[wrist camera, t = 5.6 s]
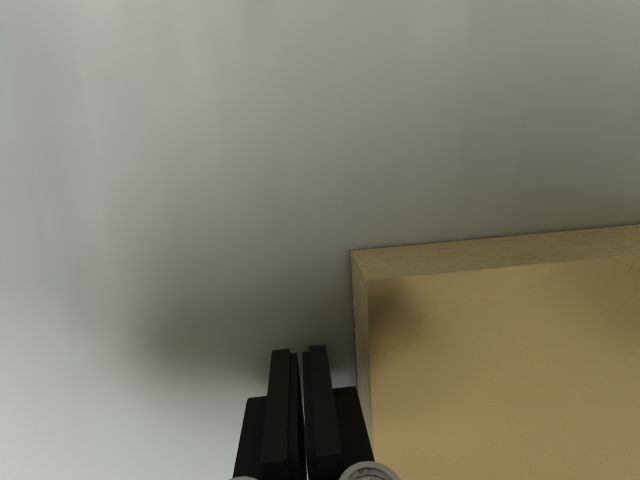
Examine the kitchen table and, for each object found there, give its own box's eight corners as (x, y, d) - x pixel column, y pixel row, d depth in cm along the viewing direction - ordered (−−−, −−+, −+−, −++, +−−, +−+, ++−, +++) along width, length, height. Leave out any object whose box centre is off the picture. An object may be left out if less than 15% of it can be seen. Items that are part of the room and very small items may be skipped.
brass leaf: (841, 205, 11) (1086, 232, 8) (740, 506, 15) (878, 618, 11) (350, 250, 10) (378, 303, 7) (366, 557, 14) (390, 694, 10)
